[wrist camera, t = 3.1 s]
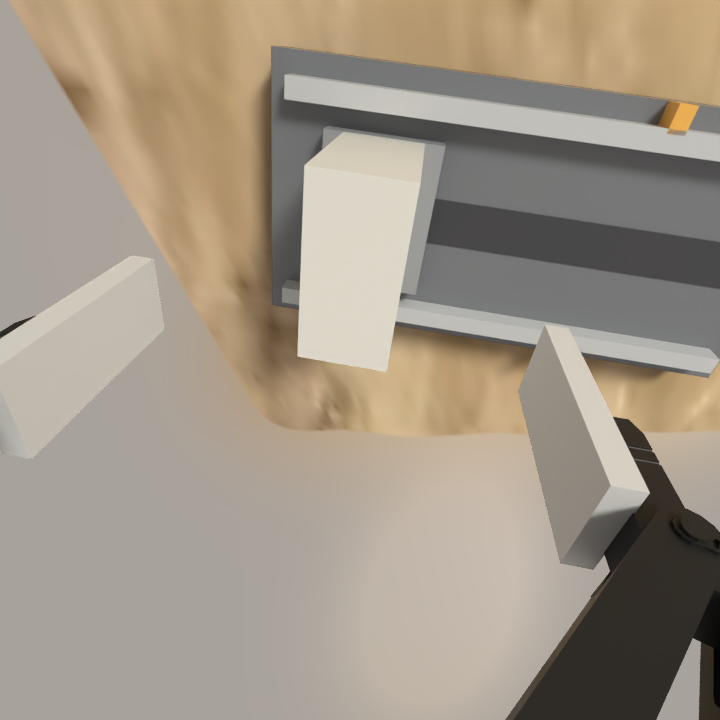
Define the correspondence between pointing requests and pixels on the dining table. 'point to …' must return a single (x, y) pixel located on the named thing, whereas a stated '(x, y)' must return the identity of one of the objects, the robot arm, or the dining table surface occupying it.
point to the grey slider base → (527, 204)
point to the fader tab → (362, 241)
